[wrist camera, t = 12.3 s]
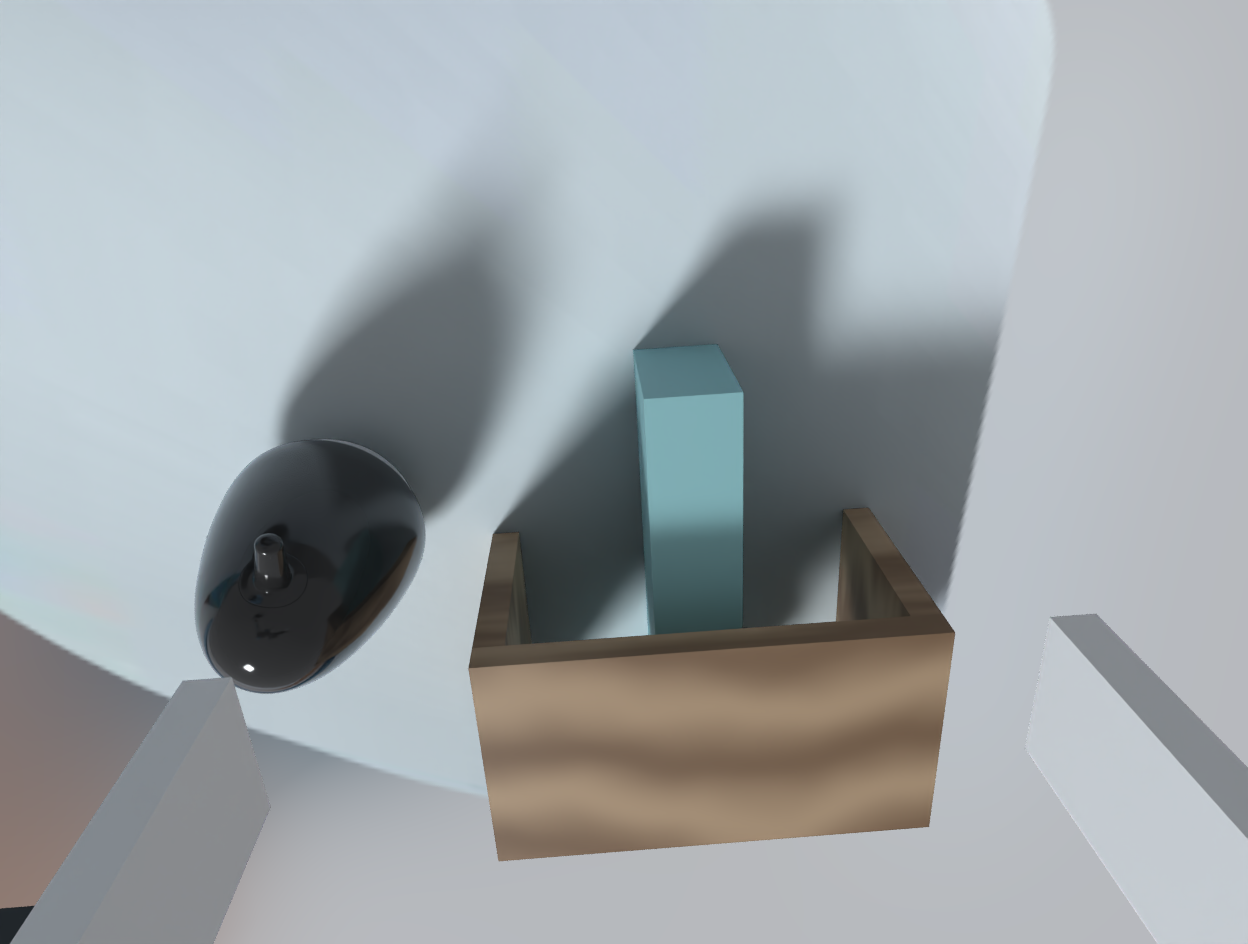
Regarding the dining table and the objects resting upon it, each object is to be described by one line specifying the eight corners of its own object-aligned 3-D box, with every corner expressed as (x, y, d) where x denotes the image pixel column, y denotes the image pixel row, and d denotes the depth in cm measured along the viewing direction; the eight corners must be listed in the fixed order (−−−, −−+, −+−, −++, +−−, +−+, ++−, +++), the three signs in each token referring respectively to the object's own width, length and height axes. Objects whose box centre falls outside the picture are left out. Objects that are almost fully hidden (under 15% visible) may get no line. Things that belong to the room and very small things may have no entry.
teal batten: (632, 348, 45) (643, 399, 38) (716, 342, 45) (743, 392, 38) (651, 692, 55) (662, 785, 48) (720, 687, 55) (742, 779, 48)
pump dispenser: (448, 430, 46) (395, 576, 33) (423, 589, 51) (366, 779, 37) (255, 392, 45) (115, 530, 31) (245, 559, 49) (117, 745, 35)
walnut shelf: (493, 533, 49) (468, 668, 38) (868, 507, 50) (955, 632, 39) (514, 698, 54) (498, 861, 43) (855, 673, 55) (928, 826, 44)
